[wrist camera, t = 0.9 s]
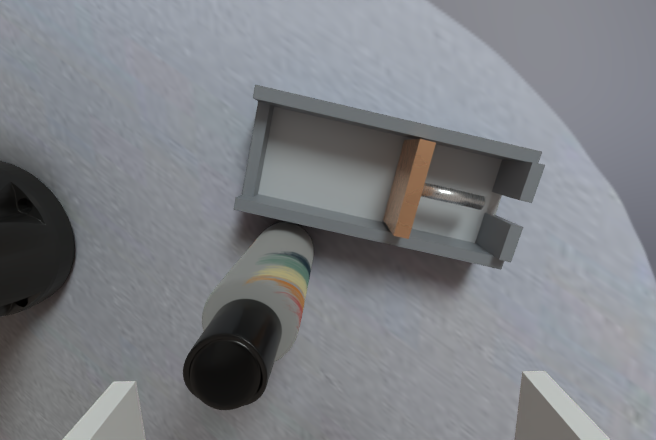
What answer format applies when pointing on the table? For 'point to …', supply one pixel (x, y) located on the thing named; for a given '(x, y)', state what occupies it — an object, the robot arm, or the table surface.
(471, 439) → the table surface
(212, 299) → the lotion bottle
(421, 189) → the pusher
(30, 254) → the robot arm
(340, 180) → the tray
